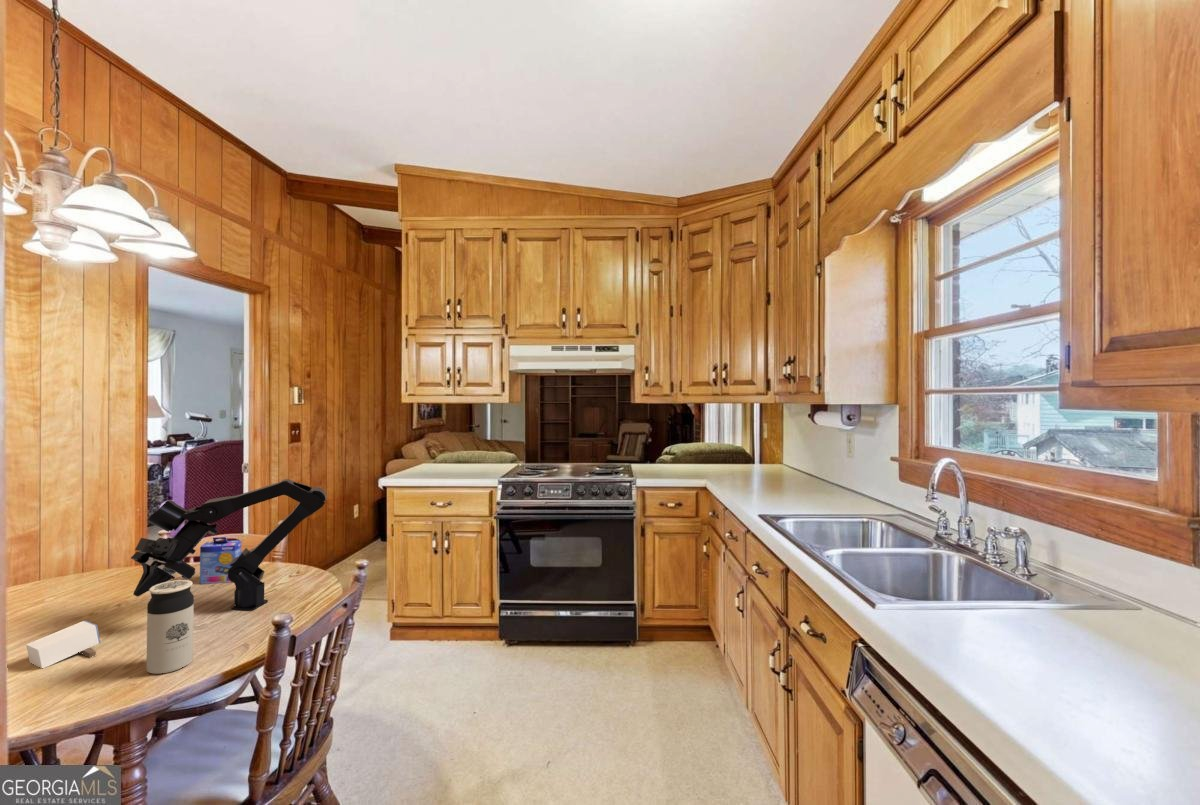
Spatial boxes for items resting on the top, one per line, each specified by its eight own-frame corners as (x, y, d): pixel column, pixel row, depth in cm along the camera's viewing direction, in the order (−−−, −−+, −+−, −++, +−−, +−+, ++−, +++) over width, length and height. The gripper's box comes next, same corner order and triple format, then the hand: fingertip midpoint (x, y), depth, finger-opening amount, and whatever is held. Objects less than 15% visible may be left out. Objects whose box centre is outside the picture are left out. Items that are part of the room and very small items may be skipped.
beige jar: (145, 664, 115) (146, 584, 115) (190, 652, 121) (191, 576, 121) (147, 679, 110) (149, 595, 109) (195, 666, 115) (196, 586, 115)
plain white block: (84, 620, 123) (25, 644, 114) (97, 624, 121) (38, 649, 112) (88, 637, 124) (30, 663, 115) (100, 642, 122) (42, 668, 113)
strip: (69, 644, 123) (69, 640, 123) (95, 656, 118) (95, 651, 118) (63, 646, 122) (63, 642, 122) (90, 657, 118) (90, 653, 118)
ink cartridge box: (198, 585, 162) (199, 539, 162) (205, 578, 167) (206, 534, 167) (235, 582, 165) (235, 537, 165) (241, 576, 170) (242, 532, 170)
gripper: (140, 520, 138) (86, 574, 128) (182, 529, 131) (128, 587, 121) (173, 542, 146) (125, 594, 136) (215, 551, 138) (167, 607, 128)
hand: (135, 595), depth 130 cm, fingers closed
